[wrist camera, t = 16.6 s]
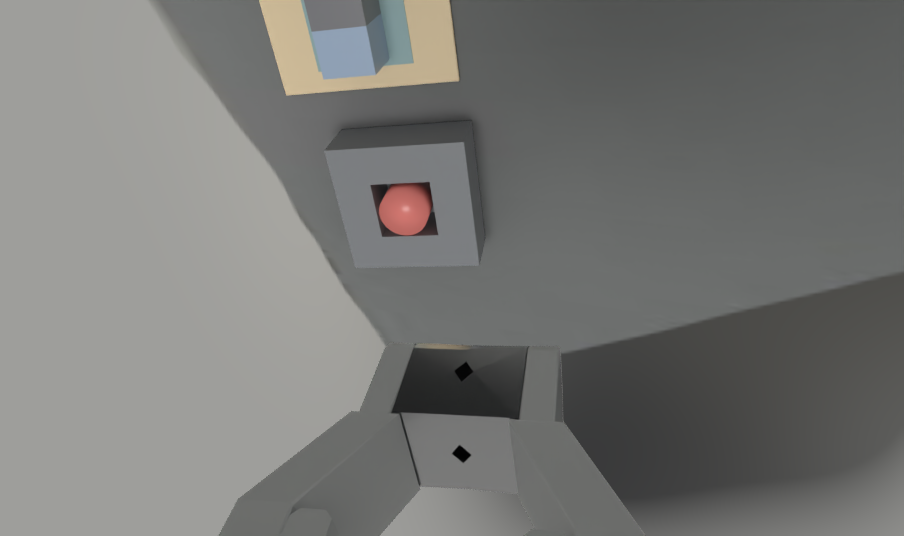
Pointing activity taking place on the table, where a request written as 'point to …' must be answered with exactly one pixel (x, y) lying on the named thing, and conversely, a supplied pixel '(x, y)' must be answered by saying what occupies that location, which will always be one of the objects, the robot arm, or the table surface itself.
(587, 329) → the table surface
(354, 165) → the button console
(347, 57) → the block
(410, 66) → the drawing pad
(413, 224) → the button
